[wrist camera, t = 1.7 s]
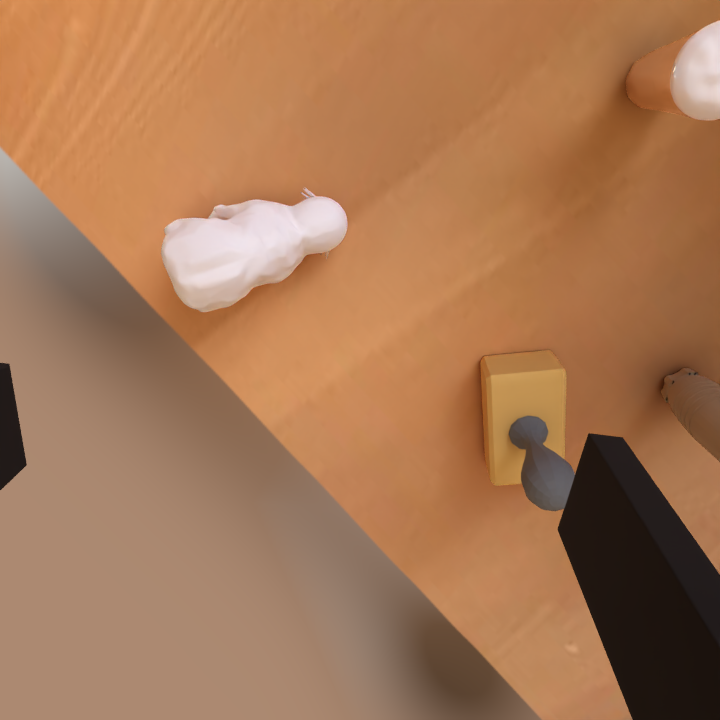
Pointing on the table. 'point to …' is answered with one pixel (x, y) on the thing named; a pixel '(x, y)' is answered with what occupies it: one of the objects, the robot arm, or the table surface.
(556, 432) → the rubber stamp
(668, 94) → the milkshake
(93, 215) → the table surface
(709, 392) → the handle
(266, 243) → the white lumpy piece
